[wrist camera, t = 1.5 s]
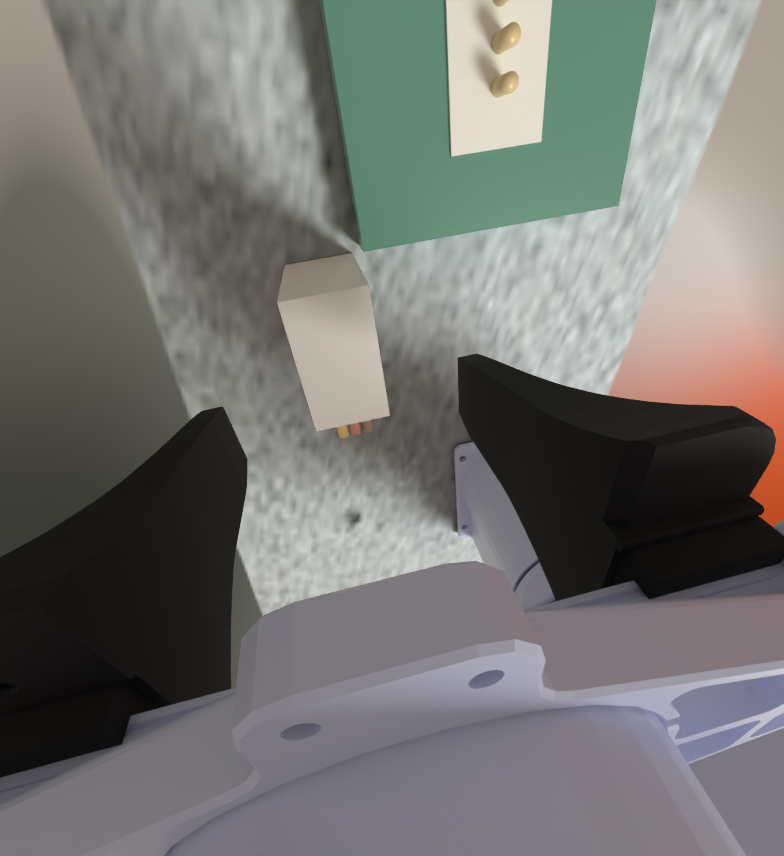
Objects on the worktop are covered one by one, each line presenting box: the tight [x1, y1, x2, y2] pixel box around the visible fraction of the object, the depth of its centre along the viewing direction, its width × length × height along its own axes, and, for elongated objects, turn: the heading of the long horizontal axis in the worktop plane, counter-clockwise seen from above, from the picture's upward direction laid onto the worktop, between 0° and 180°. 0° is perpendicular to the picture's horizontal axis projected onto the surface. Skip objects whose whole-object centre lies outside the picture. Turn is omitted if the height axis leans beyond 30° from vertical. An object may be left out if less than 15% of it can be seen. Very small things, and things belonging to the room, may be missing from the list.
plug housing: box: [277, 253, 390, 439], centre depth 18 cm, size 7×3×6 cm, turn 7°
